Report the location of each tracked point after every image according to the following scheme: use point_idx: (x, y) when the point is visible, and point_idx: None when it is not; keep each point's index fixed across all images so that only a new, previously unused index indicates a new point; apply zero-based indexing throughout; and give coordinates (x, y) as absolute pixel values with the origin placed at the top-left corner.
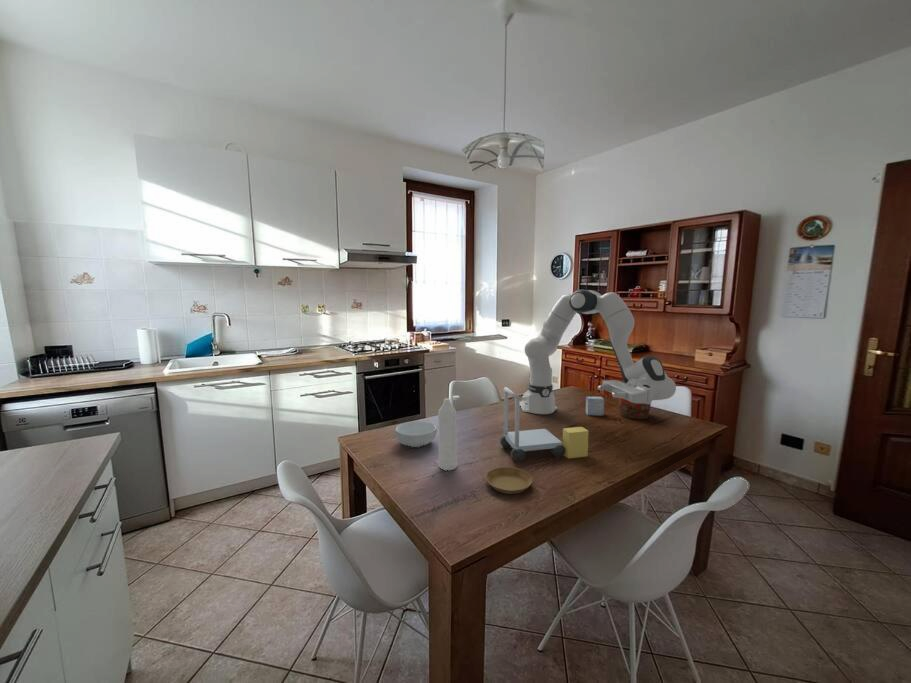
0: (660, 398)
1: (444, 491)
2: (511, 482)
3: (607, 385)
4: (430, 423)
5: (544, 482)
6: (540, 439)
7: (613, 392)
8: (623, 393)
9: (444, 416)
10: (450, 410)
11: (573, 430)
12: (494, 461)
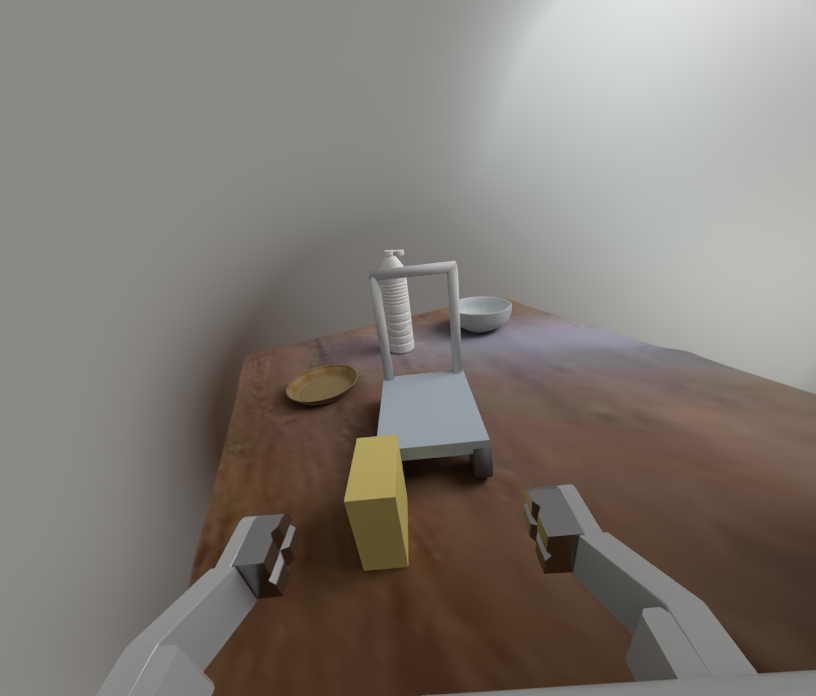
0: None
1: (345, 349)
2: (327, 392)
3: (662, 657)
4: (503, 310)
5: (301, 427)
6: (408, 414)
7: (273, 519)
8: (143, 632)
9: None
10: (380, 267)
11: (370, 455)
12: None
